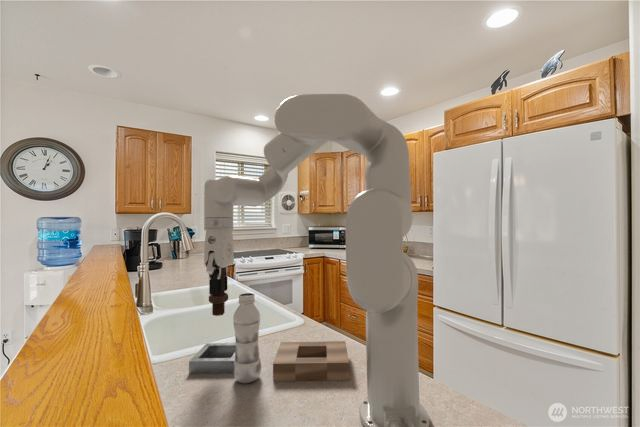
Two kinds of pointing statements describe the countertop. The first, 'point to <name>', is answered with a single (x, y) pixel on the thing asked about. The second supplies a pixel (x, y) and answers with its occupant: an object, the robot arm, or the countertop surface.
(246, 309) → the plastic bottle
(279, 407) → the countertop surface
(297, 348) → the wooden block with hole
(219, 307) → the bolt
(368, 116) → the robot arm
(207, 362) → the frame
